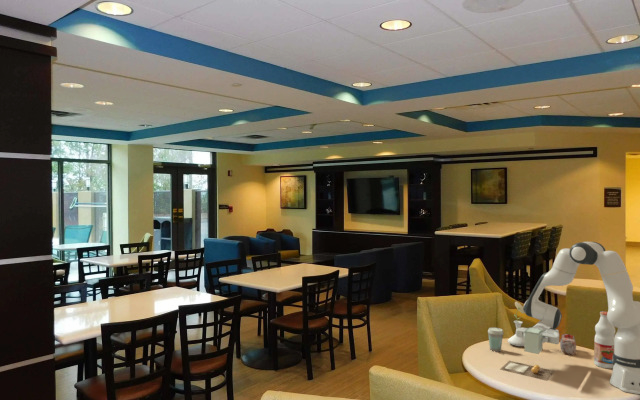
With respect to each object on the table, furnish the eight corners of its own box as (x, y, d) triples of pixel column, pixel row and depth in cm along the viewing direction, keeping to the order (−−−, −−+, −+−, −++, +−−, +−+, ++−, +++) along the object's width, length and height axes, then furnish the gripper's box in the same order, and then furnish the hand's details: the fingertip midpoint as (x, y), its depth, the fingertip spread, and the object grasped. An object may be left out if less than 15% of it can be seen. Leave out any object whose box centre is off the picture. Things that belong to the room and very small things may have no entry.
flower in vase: (530, 348, 266) (531, 305, 266) (509, 347, 268) (510, 304, 268) (525, 341, 279) (525, 300, 279) (505, 340, 281) (506, 299, 281)
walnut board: (554, 372, 230) (554, 370, 230) (547, 382, 218) (547, 380, 218) (509, 362, 244) (509, 360, 244) (499, 371, 231) (499, 369, 231)
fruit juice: (603, 361, 247) (604, 309, 246) (619, 367, 238) (620, 313, 237) (589, 363, 244) (590, 310, 244) (605, 369, 235) (606, 315, 235)
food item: (576, 356, 254) (577, 338, 254) (560, 354, 257) (560, 336, 257) (574, 349, 267) (575, 332, 266) (559, 347, 270) (559, 330, 270)
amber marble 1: (538, 373, 227) (538, 367, 227) (537, 374, 225) (537, 368, 225) (532, 371, 229) (532, 365, 229) (530, 373, 227) (530, 367, 227)
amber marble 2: (540, 370, 230) (540, 364, 230) (539, 372, 228) (539, 366, 228) (534, 369, 232) (534, 363, 232) (532, 371, 230) (532, 365, 230)
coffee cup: (500, 353, 257) (501, 332, 257) (485, 350, 262) (485, 329, 262) (505, 349, 264) (505, 329, 264) (490, 346, 269) (490, 326, 269)
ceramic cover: (542, 349, 230) (542, 329, 230) (538, 354, 224) (538, 333, 224) (528, 346, 234) (529, 327, 234) (524, 351, 228) (524, 331, 228)
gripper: (519, 323, 246) (512, 329, 235) (562, 330, 234) (556, 337, 223) (519, 334, 246) (511, 341, 236) (561, 342, 234) (555, 350, 223)
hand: (533, 339), depth 229 cm, fingers closed on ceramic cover, 6 cm apart
